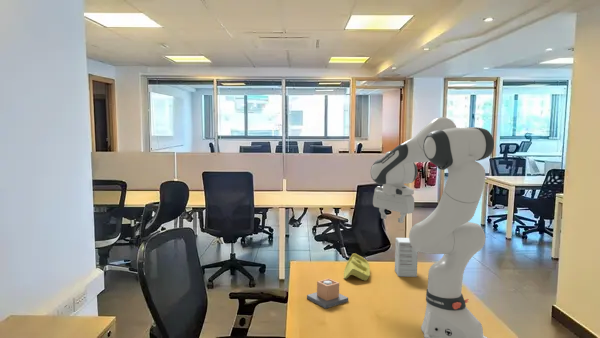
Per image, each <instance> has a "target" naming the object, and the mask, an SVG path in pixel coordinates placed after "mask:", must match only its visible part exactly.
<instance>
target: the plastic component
mask: <svg viewBox="0 0 600 338" xmlns="http://www.w3.org/2000/svg"><path fill="white" fill-rule="evenodd" d="M370 272H371V270H370V263H369V261H368V260H367V259H365V258H364V257H363V256H361V255H359V254H357V253H356V252H355V253H351V256H350V257H349V259H348V261H347V263H346V265H345V267H344V270H343V279H344V280H347V279H348V278H349V277H350V276H354V277H356V278H358V279H360V280H362V281H368V279H369V278H370V276H371V273H370Z"/></svg>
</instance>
